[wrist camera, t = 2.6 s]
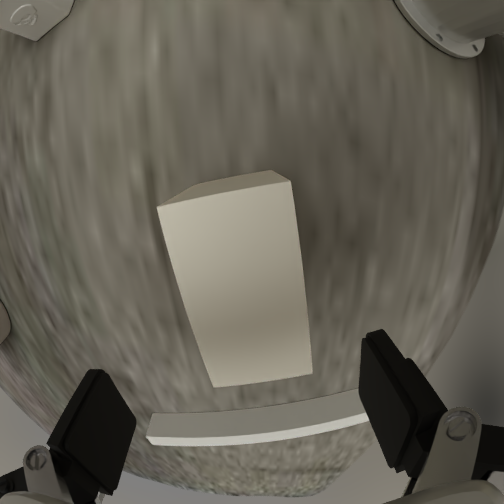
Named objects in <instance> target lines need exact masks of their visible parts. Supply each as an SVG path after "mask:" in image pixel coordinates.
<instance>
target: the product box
mask: <svg viewBox="0 0 504 504" xmlns="http://www.w3.org/2000/svg"><path fill="white" fill-rule="evenodd" d="M157 210H158V214H159V218H160V222H161V226H162V230H163V234H164V238H165V242H166V245H167V249H168V253H169V256H170V260H171V263H172V267H173V270H174V273H175V277H176V280H177V284H178V287H179V290H180V293H181V296H182V300H183V303H184V306H185V309H186V312H187V315H188V318H189V321H190V324H191V327H192V330H193V333H194V336H195V339H196V342H197V344H198V347H199V350H200V353H201V355H202V358H203V361H204V364H205V366H206V369H207V372H208V374H209V377H210V379H211V382H212V384H213V387H225V386H235V385H243V384H252V383H259V382H266V381H273V380H279V379H285V378H291V377H297V376H302V375H307V374H312V373H313V371H312V358H311V345H310V333H309V323H308V312H307V302H306V293H305V284H304V275H303V266H302V258H301V250H300V242H299V235H298V227H297V220H296V213H295V206H294V199H293V193H292V186H291V181H290V180H288V179H286V178H285V177H283V176H281V175H280V174H278V173H276V172H274V171H273V170H267V171H261V172H255V173H250V174H244V175H239V176H233V177H228V178H223V179H218V180H213V181H208V182H203V183H199V184H195V185H193V186H191V187H190V188H188V189H186V190H184V191H183V192H181V193H179V194H178V195H176V196H174V197H173V198H171V199H169V200H168V201H166V202H164V203H163V204H161V205H159V206H158V207H157Z"/></svg>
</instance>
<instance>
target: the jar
mask: <svg viewBox="0 0 504 504" xmlns="http://www.w3.org/2000/svg"><path fill="white" fill-rule="evenodd" d="M73 2H74V0H0V29H2V30H5V31H8V32H11V33H14V34H17V35H20V36H22V37H25V38H28V39H30V40H33V41H38V40H39V39H40V38H41V37H42V36H43V35H44V34H46V33H47V32H48V31H49V30H50V29H51V28H53V27H54V26H55V25H56V24H58V23H59V22H60V21H61V20H63V19H64V18H65V17H67V16H68V15H69V13H70V10H71V7H72V5H73Z"/></svg>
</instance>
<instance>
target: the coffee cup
mask: <svg viewBox="0 0 504 504" xmlns="http://www.w3.org/2000/svg"><path fill="white" fill-rule="evenodd" d="M10 329H11V325H10V320H9V316H8V314H7V311H6V309H5V307H4V306H3V304H2V302H1V301H0V344H1V343H2V342H3V340H4V339H5V338H6V337H7V336H8V334H9V332H10Z"/></svg>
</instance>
